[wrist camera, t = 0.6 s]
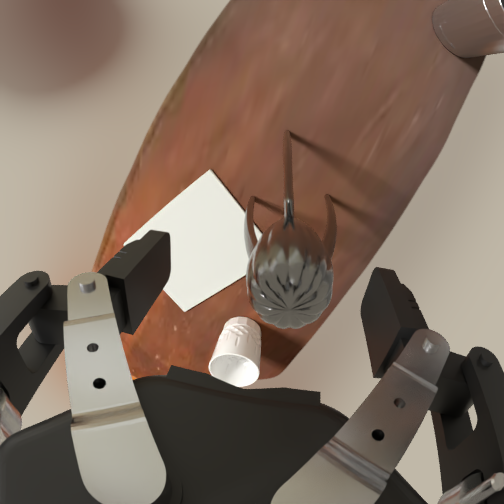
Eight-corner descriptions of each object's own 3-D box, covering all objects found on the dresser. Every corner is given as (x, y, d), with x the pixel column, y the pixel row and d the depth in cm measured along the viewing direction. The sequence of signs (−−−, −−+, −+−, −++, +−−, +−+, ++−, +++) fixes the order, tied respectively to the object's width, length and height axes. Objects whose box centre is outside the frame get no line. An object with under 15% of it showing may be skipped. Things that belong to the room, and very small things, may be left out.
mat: (210, 168, 42) (209, 169, 41) (277, 253, 46) (277, 255, 46) (124, 243, 48) (122, 244, 48) (185, 310, 53) (184, 311, 53)
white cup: (257, 350, 56) (251, 391, 47) (216, 339, 55) (204, 378, 46) (270, 320, 52) (265, 362, 43) (226, 307, 52) (214, 347, 43)
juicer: (329, 198, 42) (389, 355, 15) (250, 200, 43) (189, 356, 16) (328, 129, 37) (421, 173, 11) (245, 132, 39) (149, 181, 12)
